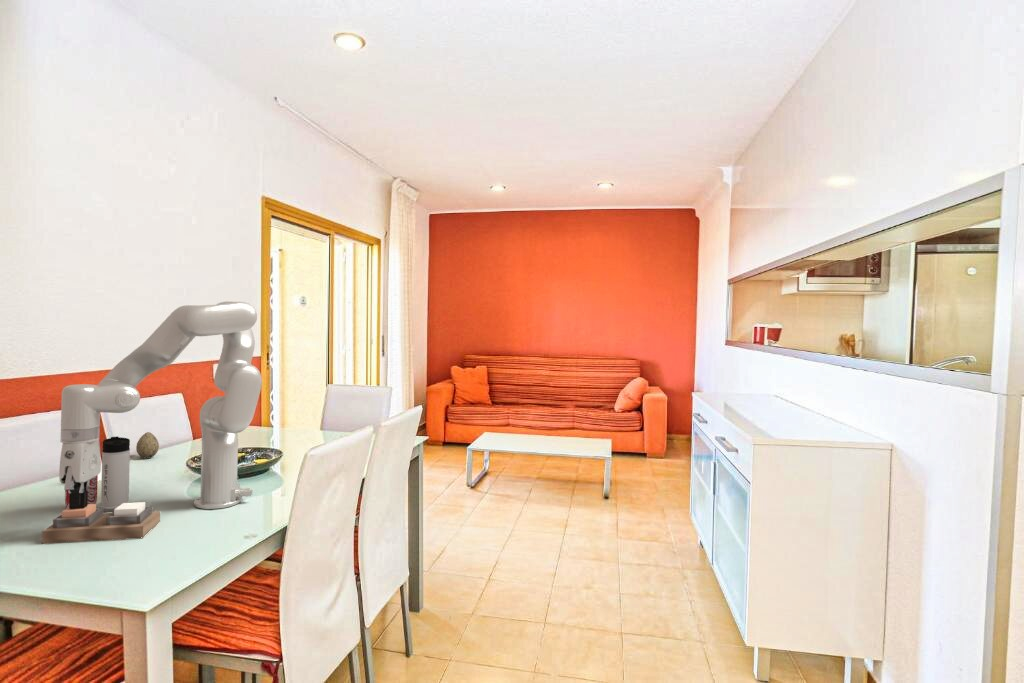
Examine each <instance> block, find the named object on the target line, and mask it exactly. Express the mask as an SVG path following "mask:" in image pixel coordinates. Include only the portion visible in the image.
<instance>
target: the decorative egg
mask: <svg viewBox="0 0 1024 683" xmlns="http://www.w3.org/2000/svg"><path fill="white" fill-rule="evenodd" d="M135 449H136V450H135V451H136V453H137V455H138V456H139V457H140V458H143V459H151V458H153V457H154V456H156V455H157V453H158V452H159V449H160V444H159V440H158V439H157V437H156V436H155V435H154V434H153V433H151V432H150V431H149V432H148V431H147V432H145V433H144V434H143V435H141V436H140V437H139V439H138V441H137V442H136V447H135Z"/></svg>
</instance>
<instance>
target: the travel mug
mask: <svg viewBox="0 0 1024 683" xmlns="http://www.w3.org/2000/svg"><path fill="white" fill-rule="evenodd" d="M130 443H131V440H130V438H127V437H119V435H118V436H111V437H110V438H105V439H103V441H102V451H101V453H102V454H101V463H102V480H101V484H100V485H101V493H100V495H101V496H100V508H104V513H105V512H112V513H113V512H114V509H116V508H117V507H118V506H120V505H121V504H123V503H130V502H129V501H130V460H131V459H130V456H131V449H130V448H131V447H130V446H131V444H130Z"/></svg>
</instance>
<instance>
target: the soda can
mask: <svg viewBox="0 0 1024 683" xmlns="http://www.w3.org/2000/svg"><path fill="white" fill-rule="evenodd" d="M98 482H99V481H98V475H97V476H95V477H93V478H92V479H91V480H90V482H89V489H88V490H86V491H88V504H96V505H97V502H98V484H99V483H98ZM69 495H70V494H69V491H68V490H65V489H64V503H65V509H67V508H69Z"/></svg>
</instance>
